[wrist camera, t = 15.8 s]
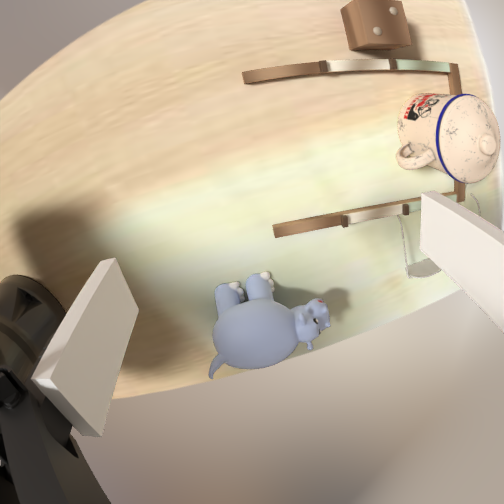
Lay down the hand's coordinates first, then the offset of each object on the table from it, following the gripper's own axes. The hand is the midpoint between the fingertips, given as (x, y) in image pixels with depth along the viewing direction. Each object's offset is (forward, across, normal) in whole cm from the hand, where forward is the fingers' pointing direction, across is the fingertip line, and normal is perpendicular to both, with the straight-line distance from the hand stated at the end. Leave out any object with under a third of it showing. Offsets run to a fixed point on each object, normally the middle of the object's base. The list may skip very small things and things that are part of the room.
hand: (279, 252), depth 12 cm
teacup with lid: (+21, +20, 0) cm, 30 cm away
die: (+21, +16, +13) cm, 30 cm away
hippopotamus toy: (+22, -1, -19) cm, 29 cm away
